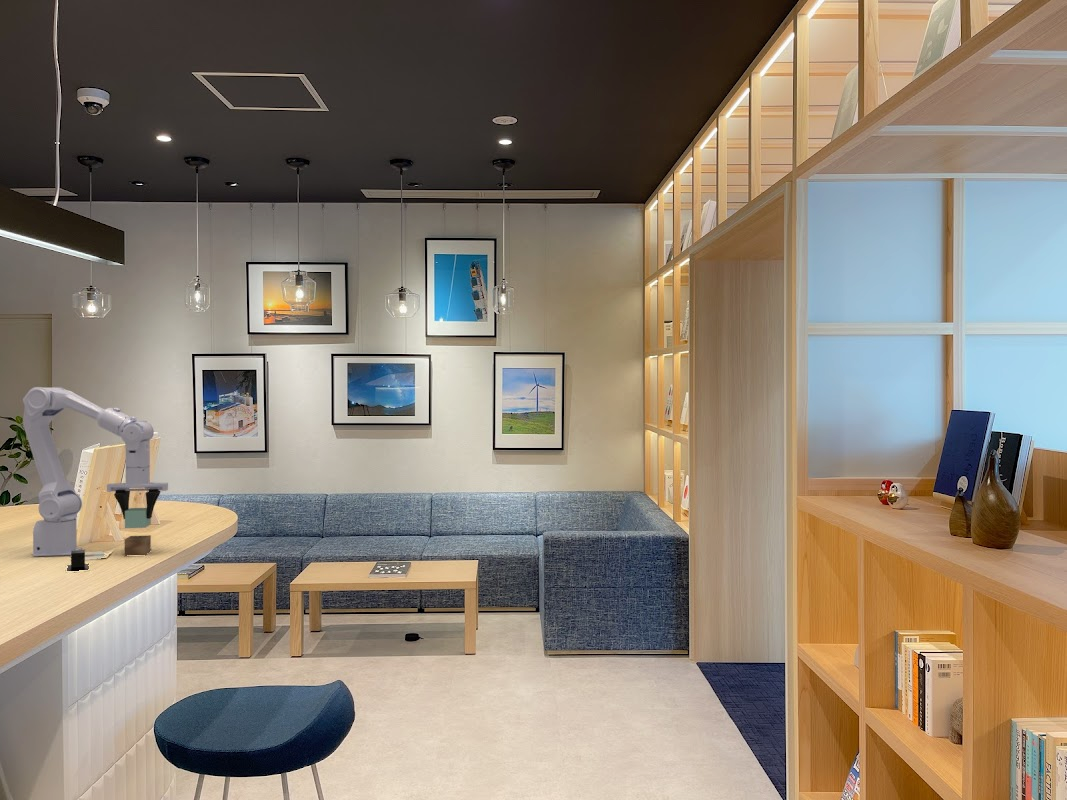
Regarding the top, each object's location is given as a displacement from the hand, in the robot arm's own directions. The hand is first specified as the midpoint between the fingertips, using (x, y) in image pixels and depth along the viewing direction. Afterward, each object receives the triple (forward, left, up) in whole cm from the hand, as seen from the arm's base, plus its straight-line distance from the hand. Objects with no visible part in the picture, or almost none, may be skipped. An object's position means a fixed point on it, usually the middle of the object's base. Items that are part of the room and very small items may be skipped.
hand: (137, 518), depth 207 cm
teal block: (0, 0, -2) cm, 2 cm away
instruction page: (-10, -1, -9) cm, 14 cm away
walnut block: (0, 0, -10) cm, 10 cm away
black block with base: (-9, -15, -10) cm, 20 cm away
